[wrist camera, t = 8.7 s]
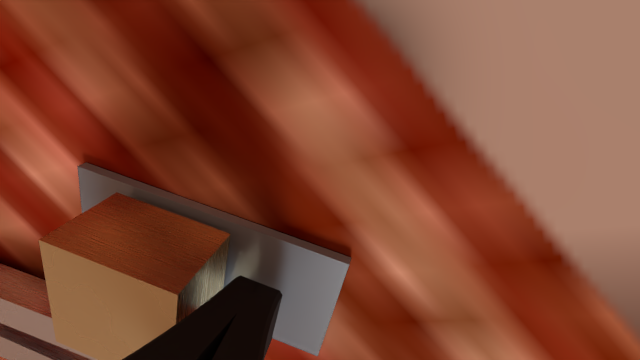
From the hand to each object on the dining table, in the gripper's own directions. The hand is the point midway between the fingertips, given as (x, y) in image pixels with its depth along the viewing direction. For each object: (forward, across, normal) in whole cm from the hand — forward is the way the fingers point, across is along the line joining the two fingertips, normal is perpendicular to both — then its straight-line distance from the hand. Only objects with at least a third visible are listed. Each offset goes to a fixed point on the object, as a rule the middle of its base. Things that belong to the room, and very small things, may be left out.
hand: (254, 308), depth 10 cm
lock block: (+1, +3, 0) cm, 3 cm away
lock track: (+1, +2, 0) cm, 2 cm away
